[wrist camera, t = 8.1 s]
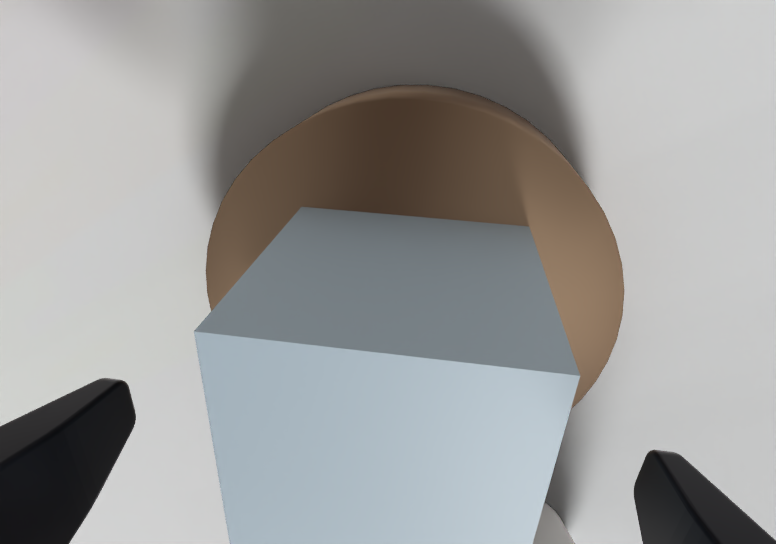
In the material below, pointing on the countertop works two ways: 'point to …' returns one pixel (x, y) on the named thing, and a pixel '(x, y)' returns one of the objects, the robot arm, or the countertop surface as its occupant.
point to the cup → (551, 528)
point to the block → (387, 383)
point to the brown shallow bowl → (434, 195)
